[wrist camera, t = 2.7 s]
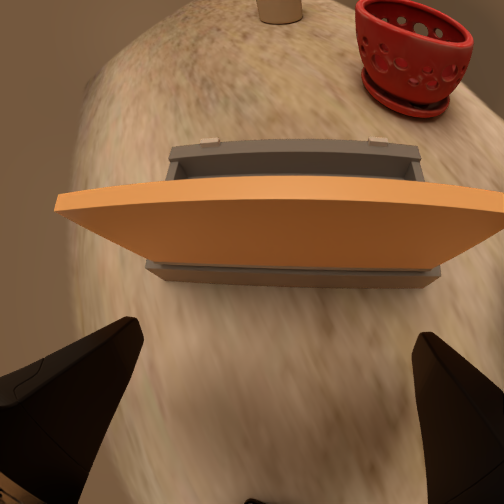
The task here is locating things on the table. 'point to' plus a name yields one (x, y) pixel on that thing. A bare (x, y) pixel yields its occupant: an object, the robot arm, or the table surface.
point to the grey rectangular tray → (295, 164)
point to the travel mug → (279, 11)
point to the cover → (290, 221)
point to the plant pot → (410, 55)
